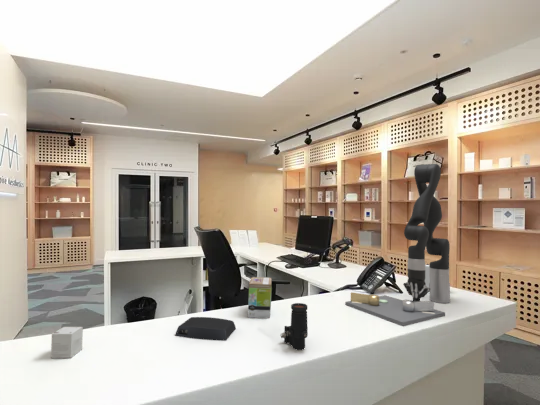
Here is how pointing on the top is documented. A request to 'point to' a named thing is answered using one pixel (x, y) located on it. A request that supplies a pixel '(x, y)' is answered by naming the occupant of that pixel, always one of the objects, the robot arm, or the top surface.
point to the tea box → (259, 297)
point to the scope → (297, 327)
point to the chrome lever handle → (418, 305)
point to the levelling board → (395, 311)
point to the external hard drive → (206, 328)
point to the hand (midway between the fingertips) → (416, 305)
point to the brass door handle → (365, 298)
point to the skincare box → (66, 342)
